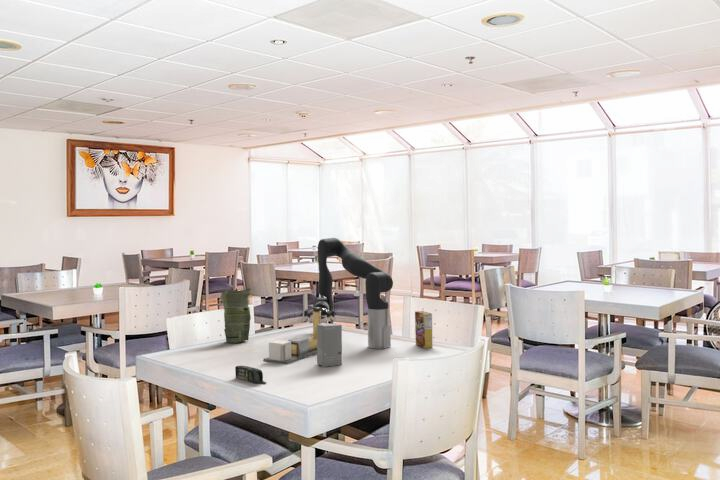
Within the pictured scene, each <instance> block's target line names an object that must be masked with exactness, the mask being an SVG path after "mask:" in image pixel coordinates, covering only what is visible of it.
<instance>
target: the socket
mask: <svg viewBox="0 0 720 480" xmlns="http://www.w3.org/2000/svg"><path fill="white" fill-rule="evenodd" d="M268 357H269V359H271V360H279V361H285V360H288V359H291V342H290V341H288V340H279V339H276V340H273V341H269V342H268Z"/></svg>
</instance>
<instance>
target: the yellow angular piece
mask: <svg viewBox="0 0 720 480" xmlns="http://www.w3.org/2000/svg"><path fill="white" fill-rule="evenodd" d="M311 310H313V317H312V336H311V337H308V338H307V339H308V351H309V350H312V349H315V348H317V324H322V319H321V307H313V306H312V309H311ZM291 354H296V355H297V354H298V343H295V342H294V343H291Z"/></svg>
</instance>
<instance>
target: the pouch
mask: <svg viewBox="0 0 720 480" xmlns="http://www.w3.org/2000/svg"><path fill="white" fill-rule="evenodd" d="M251 291H252V288H246V289H240V290H238V288H236V289H234V290H232V289H224V290H222V291H220V293H221V295H220V298H221V299H220V300H221V302H222V305H223V310H224V313H223V315H224V317H223V318H224V336H225V342H226V343H231V344H238V343H243V342H245V341H246V342H247V341H249V335H250V330H251V329H250V328H251V327H250V326H251V320H252V319H251V318H252V316H251V308H250V306H249V296H250V292H251Z"/></svg>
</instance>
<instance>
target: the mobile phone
mask: <svg viewBox="0 0 720 480" xmlns="http://www.w3.org/2000/svg"><path fill="white" fill-rule="evenodd" d="M234 370H235V379H237V378H238V380H240V381H241V380H242V381H244V382H245V381H246V382H248V383H251V382H252V384H263V385H266V384H267V382H266V381H264V380H263V379H264V374H263V373H264V372H263V371H262V370H261V369H259V368H256V367H252V366H248V365H236V366H235V368H234Z"/></svg>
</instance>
